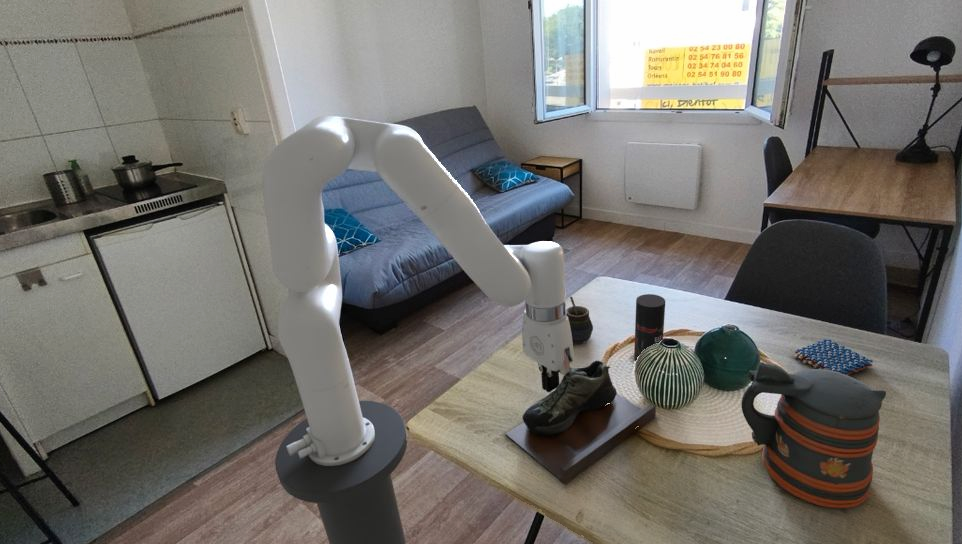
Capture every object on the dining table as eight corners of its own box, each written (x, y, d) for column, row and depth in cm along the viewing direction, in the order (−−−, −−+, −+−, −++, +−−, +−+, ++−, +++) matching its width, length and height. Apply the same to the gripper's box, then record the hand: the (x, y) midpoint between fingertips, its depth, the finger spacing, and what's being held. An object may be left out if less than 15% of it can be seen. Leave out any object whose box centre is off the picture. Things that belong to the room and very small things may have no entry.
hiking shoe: (512, 422, 98) (508, 383, 94) (593, 379, 108) (593, 343, 104) (539, 447, 91) (536, 407, 87) (622, 399, 101) (623, 361, 97)
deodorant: (652, 370, 110) (655, 309, 104) (628, 360, 114) (630, 301, 108) (666, 358, 113) (670, 299, 107) (643, 348, 117) (645, 291, 111)
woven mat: (825, 343, 113) (827, 336, 112) (873, 368, 104) (876, 359, 103) (790, 356, 110) (792, 348, 109) (837, 382, 101) (839, 374, 100)
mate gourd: (573, 350, 119) (572, 313, 115) (556, 336, 126) (555, 301, 122) (598, 342, 122) (598, 305, 118) (580, 328, 128) (580, 293, 124)
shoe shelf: (565, 484, 84) (565, 471, 82) (505, 434, 96) (504, 422, 94) (655, 418, 96) (656, 405, 95) (592, 381, 108) (592, 369, 107)
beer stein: (745, 501, 78) (762, 397, 69) (725, 434, 90) (738, 340, 82) (887, 516, 73) (923, 406, 65) (845, 444, 86) (871, 345, 78)
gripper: (505, 301, 97) (512, 379, 104) (559, 329, 86) (563, 414, 93) (534, 288, 101) (539, 364, 108) (590, 313, 89) (591, 396, 97)
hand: (550, 387), depth 101 cm, fingers closed
